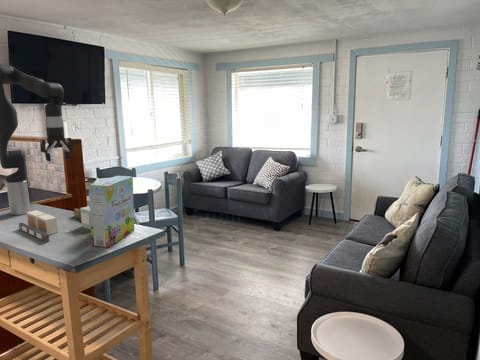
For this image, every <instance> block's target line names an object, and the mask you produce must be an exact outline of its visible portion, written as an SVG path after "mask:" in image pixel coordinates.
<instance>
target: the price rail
mask: <svg viewBox="0 0 480 360" xmlns="http://www.w3.org/2000/svg"><path fill="white" fill-rule="evenodd" d="M18 229H19V230H20V231H21V232H23V233H26V234H28V235H31V236H32V237H34V238H37V239H38V240H40V241H43V242H45V243H49V242H50V238H49V237H50V235H48V234H46V233H43V232H41V231H39V230H37V229H35V228H32V227H30V226H28V224H26V223H24V222H19V223H18Z"/></svg>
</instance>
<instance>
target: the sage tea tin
mask: <svg viewBox="0 0 480 360" xmlns="http://www.w3.org/2000/svg"><path fill="white" fill-rule="evenodd" d="M79 210H81V218H80V221H81V227H82V226H83V228H85V229H88V230H90V231H91V219H90V205H88V206H83V207H79Z"/></svg>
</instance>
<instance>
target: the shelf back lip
mask: <svg viewBox="0 0 480 360" xmlns="http://www.w3.org/2000/svg"><path fill="white" fill-rule="evenodd" d="M73 217H75V218H78V219H81V210H80V208H73Z"/></svg>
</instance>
